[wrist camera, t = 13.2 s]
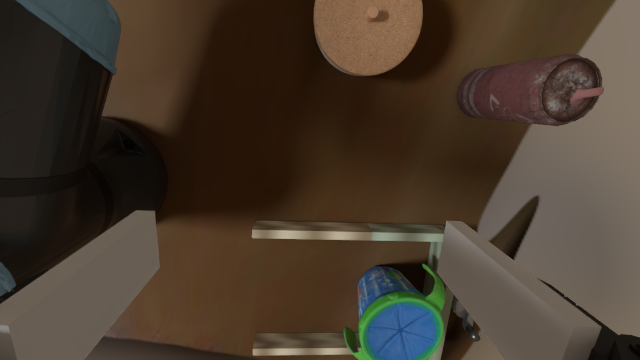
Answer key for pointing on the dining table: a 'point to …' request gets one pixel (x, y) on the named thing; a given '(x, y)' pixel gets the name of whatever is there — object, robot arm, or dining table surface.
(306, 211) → the dining table surface
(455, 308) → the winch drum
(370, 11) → the lidded jar
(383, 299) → the snack cup
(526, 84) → the can
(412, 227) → the bay
